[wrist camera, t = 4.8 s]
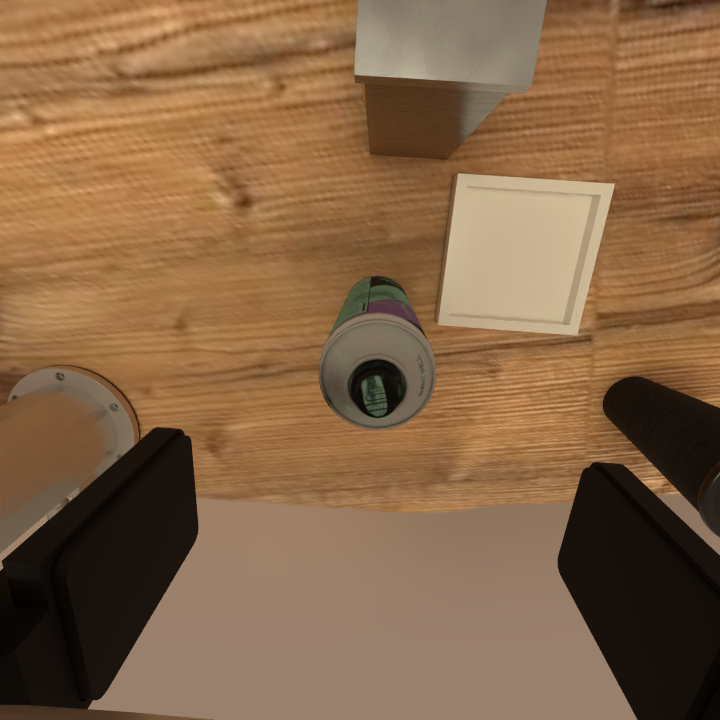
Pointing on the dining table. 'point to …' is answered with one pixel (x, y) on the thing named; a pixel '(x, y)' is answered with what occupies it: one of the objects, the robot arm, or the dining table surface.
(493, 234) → the dish
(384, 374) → the spray can
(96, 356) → the dining table surface
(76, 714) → the robot arm
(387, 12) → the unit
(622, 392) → the drinking cup
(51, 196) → the dining table surface
